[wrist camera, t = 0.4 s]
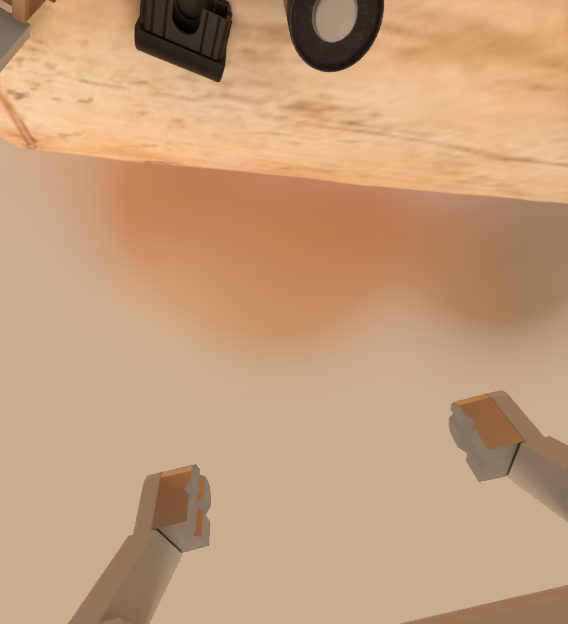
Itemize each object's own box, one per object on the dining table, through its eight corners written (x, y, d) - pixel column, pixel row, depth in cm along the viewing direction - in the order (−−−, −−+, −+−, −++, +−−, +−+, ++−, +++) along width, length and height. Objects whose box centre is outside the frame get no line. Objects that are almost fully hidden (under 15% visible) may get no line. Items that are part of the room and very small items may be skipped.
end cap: (142, 34, 43) (132, 58, 39) (146, -39, 38) (136, -20, 34) (220, 67, 47) (218, 92, 43) (235, 4, 41) (234, 26, 38)
